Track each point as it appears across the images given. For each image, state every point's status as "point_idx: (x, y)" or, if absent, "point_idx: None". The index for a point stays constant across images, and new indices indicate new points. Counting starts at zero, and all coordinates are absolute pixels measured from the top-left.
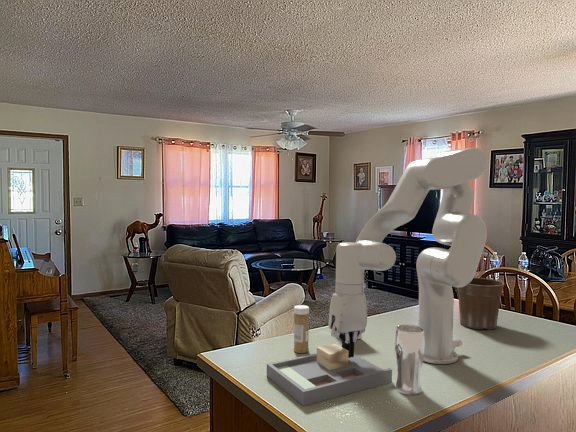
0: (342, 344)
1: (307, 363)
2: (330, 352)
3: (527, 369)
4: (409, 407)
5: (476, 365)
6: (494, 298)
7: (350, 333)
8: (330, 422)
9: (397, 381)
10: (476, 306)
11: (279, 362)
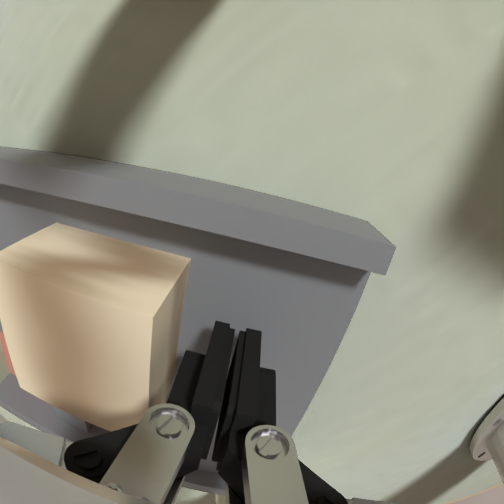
0: (168, 399)
1: (15, 205)
2: (32, 379)
3: (490, 487)
4: (175, 499)
5: (488, 466)
6: None
7: (273, 491)
8: (9, 415)
9: (222, 501)
10: None
11: None
